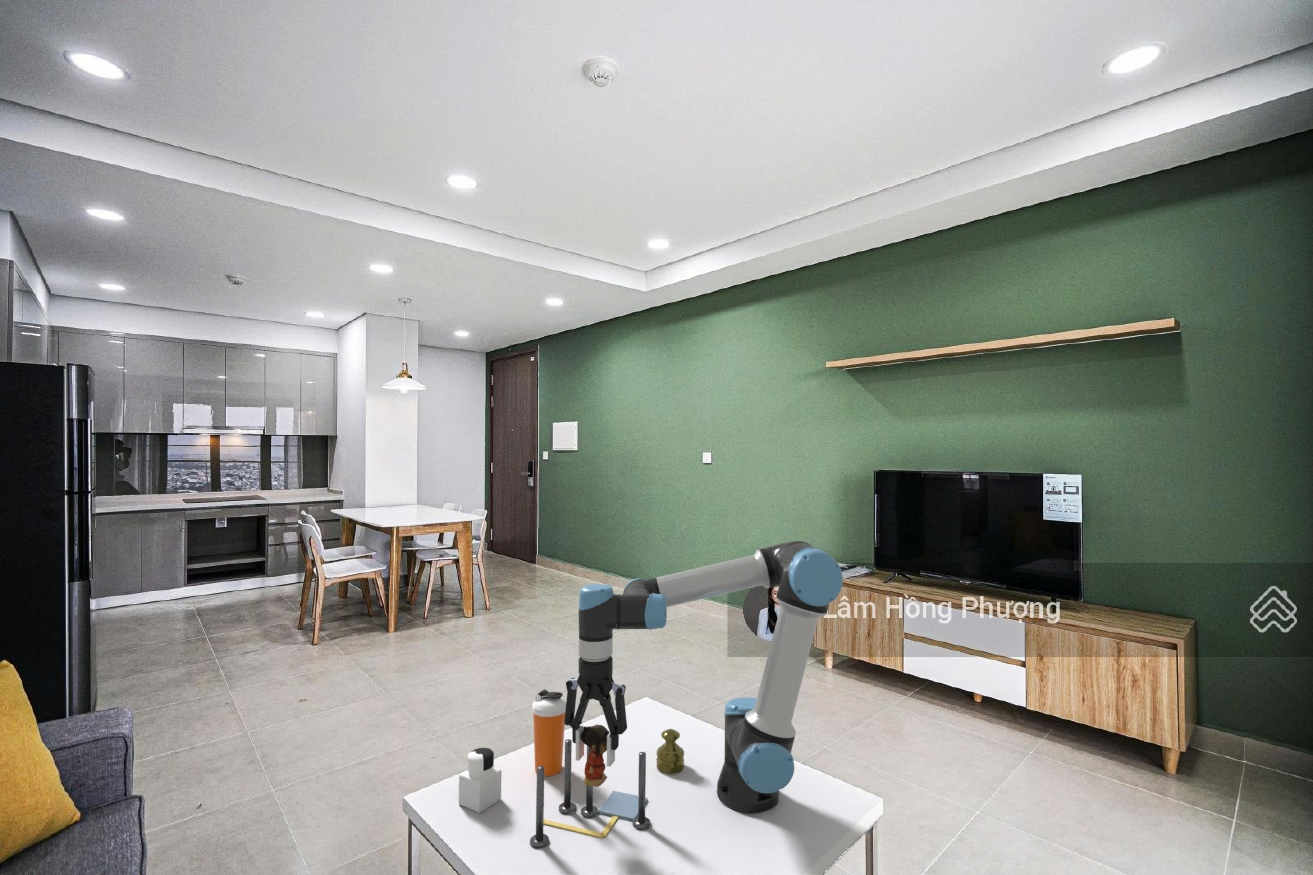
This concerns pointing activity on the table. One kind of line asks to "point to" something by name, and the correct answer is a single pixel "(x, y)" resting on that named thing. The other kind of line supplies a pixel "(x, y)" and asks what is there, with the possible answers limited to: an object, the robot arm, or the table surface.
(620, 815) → the pad
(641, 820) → the gate
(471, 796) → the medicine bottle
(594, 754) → the figurine
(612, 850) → the table surface
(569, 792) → the gate
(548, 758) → the shaker bottle
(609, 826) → the guide line
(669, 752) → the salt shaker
